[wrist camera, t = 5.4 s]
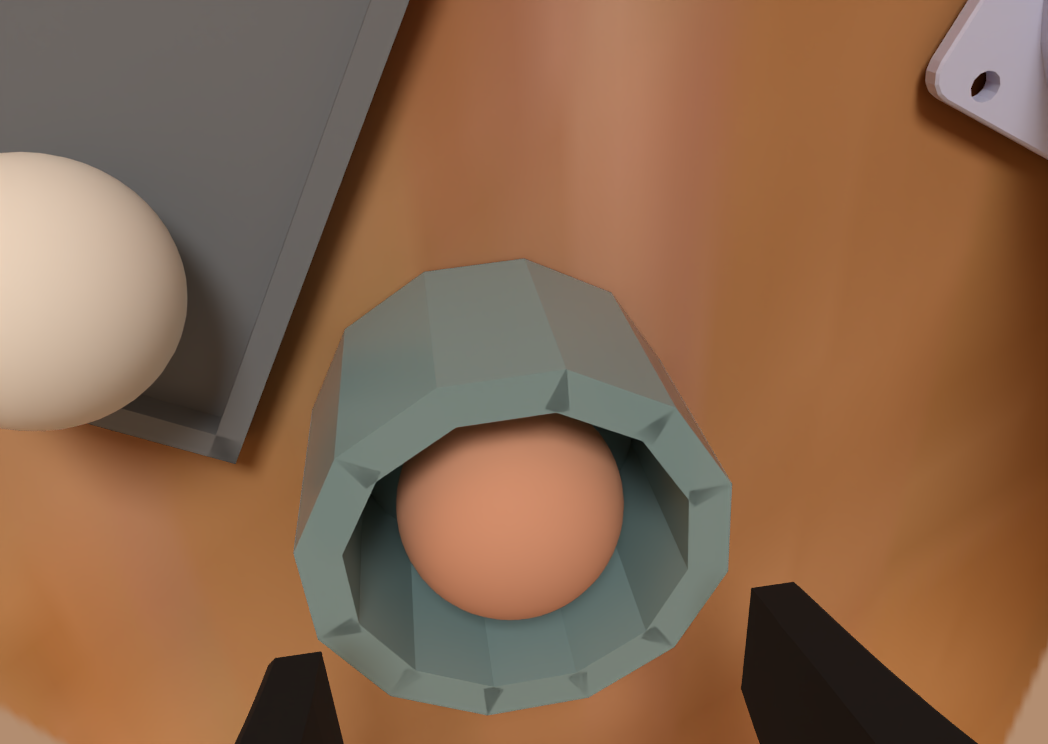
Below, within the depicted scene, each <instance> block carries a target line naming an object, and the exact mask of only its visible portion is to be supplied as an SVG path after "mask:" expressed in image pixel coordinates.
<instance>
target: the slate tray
mask: <svg viewBox="0 0 1048 744" xmlns="http://www.w3.org/2000/svg"><path fill="white" fill-rule="evenodd" d="M408 2H409V0H0V153H8V152H32V153H43V154H49V155H54V156H60V157H65V158H69V159H72V160H75V161H79V162H82V163H85V164H87V165H90V166H92V167H94V168H97V169H99V170H101V171H103V172H105V173H107V174H108V175H110V176H112V177H114V178H116V179H117V180H119V181H120V182H122V183H123V184H124V185H126V186H127V187H129V188H130V189H131V190H133V191H134V192H135V193H136V194H137V195H138V196H140V197H141V198H142V199H143V200H144V201H145V202H146V203H147V204H148V205H149V206H150V207H151V208H152V210H153V211H154V212H155V213H156V214H157V215H158V217H159V218H160V219H161V221H162V222H163V224H164V225H165V226H166V228H167V229H168V231H169V233H170V235H171V237H172V239H173V241H174V243H175V245H176V247H177V249H178V252H179V255H180V257H181V260H182V263H183V267H184V271H185V276H186V284H187V314H186V319H185V324H184V328H183V332H182V335H181V338H180V341H179V343H178V346H177V348H176V351H175V353H174V354H173V356H172V357H171V359H170V361H169V362H168V364H167V366H166V367H165V369H164V371H163V372H162V373H161V374H160V376H159V377H158V378H157V379H156V380H155V381H154V383H153V384H152V385H151V386H150V387H148V388H147V389H146V390H145V391H144V392H143V393H142V394H141V395H139V396H138V397H137V398H136V399H135V400H133V401H132V402H130V403H129V404H127V405H126V406H124V407H123V408H121V409H119V410H117V411H116V412H114V413H112V414H110V415H107V416H105V417H103V418H101V419H99V420H96V421H93V422H90V423H87V424H91V425H94V426H98V427H102V428H105V429H109V430H113V431H116V432H120V433H124V434H127V435H131V436H135V437H138V438H142V439H146V440H149V441H153V442H157V443H160V444H164V445H168V446H171V447H175V448H179V449H182V450H186V451H190V452H193V453H197V454H201V455H204V456H208V457H212V458H215V459H219V460H223V461H226V462H230V463H234V464H236V461H237V458H238V456H239V453H240V450H241V448H242V445H243V442H244V440H245V437H246V434H247V432H248V429H249V426H250V424H251V421H252V418H253V416H254V413H255V410H256V408H257V405H258V402H259V400H260V397H261V394H262V392H263V389H264V386H265V384H266V381H267V378H268V376H269V373H270V370H271V368H272V365H273V362H274V360H275V357H276V354H277V352H278V349H279V346H280V344H281V341H282V338H283V336H284V333H285V330H286V328H287V325H288V322H289V320H290V317H291V314H292V312H293V309H294V306H295V304H296V301H297V298H298V296H299V293H300V290H301V288H302V285H303V282H304V280H305V277H306V274H307V272H308V269H309V266H310V264H311V261H312V258H313V256H314V253H315V250H316V248H317V245H318V242H319V240H320V237H321V234H322V232H323V229H324V226H325V224H326V221H327V218H328V216H329V213H330V210H331V208H332V205H333V202H334V200H335V197H336V194H337V192H338V189H339V186H340V184H341V181H342V178H343V176H344V173H345V170H346V168H347V165H348V162H349V160H350V157H351V154H352V152H353V149H354V146H355V144H356V141H357V138H358V136H359V133H360V130H361V128H362V125H363V122H364V120H365V117H366V114H367V112H368V109H369V106H370V104H371V101H372V98H373V96H374V93H375V90H376V88H377V85H378V82H379V80H380V77H381V74H382V72H383V69H384V66H385V64H386V61H387V58H388V56H389V53H390V50H391V48H392V45H393V42H394V40H395V37H396V34H397V32H398V29H399V26H400V24H401V21H402V18H403V16H404V13H405V10H406V8H407V5H408Z"/></svg>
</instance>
